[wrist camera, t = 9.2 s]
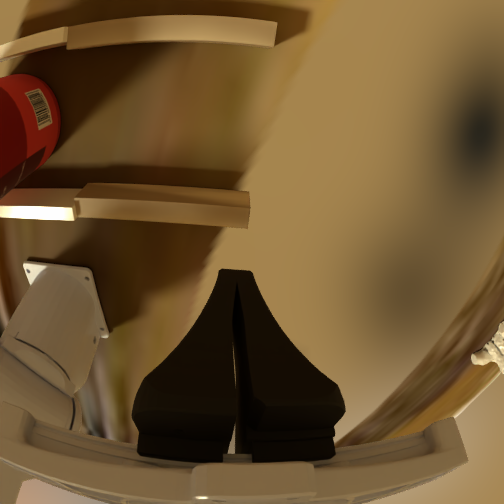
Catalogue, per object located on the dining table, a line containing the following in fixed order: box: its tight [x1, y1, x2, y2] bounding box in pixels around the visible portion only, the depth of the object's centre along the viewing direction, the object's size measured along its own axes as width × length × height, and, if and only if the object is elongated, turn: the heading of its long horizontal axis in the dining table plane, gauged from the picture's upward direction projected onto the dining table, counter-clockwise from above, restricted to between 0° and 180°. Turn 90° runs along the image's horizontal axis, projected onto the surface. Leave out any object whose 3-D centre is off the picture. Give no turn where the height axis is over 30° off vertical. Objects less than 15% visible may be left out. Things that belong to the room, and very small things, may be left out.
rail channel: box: [67, 15, 278, 228], centre depth 17 cm, size 13×12×2 cm
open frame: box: [0, 27, 82, 221], centre depth 15 cm, size 13×12×3 cm
